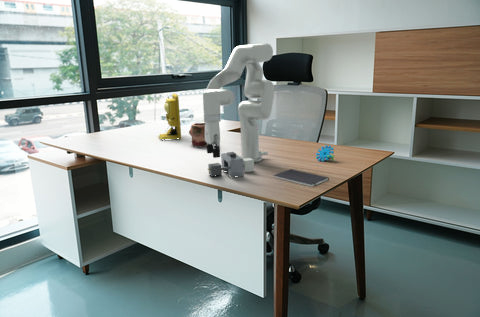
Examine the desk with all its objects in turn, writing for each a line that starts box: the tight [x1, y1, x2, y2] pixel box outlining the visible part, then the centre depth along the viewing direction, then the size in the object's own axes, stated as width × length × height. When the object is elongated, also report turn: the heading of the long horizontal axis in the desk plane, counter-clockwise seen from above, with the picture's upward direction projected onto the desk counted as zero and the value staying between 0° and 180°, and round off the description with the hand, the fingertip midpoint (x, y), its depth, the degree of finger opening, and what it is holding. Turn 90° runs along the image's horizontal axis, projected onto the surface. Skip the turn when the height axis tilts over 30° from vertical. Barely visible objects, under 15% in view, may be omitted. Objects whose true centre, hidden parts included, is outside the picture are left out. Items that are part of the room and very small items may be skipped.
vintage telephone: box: [158, 93, 182, 140], centre depth 273 cm, size 31×14×30 cm, turn 17°
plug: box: [206, 158, 255, 177], centre depth 185 cm, size 22×4×6 cm, turn 110°
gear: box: [315, 144, 335, 163], centre depth 204 cm, size 11×6×10 cm
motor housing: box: [220, 151, 244, 178], centre depth 185 cm, size 6×14×10 cm, turn 21°
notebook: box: [273, 168, 330, 187], centre depth 175 cm, size 13×2×21 cm
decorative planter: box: [188, 122, 207, 147], centre depth 246 cm, size 20×12×14 cm, turn 49°
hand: (213, 155), depth 181 cm, fingers open, 9 cm apart
